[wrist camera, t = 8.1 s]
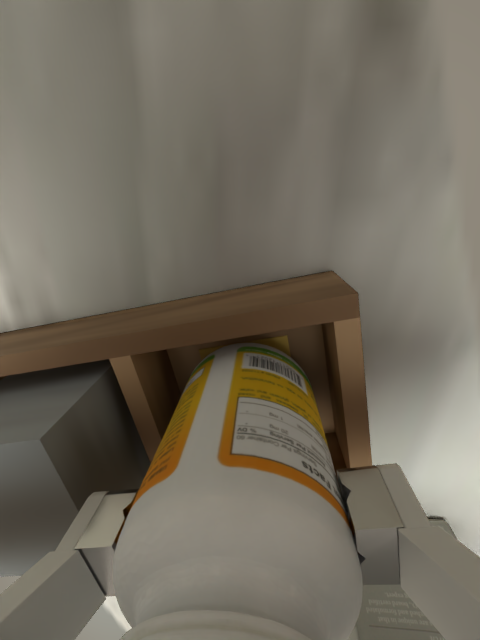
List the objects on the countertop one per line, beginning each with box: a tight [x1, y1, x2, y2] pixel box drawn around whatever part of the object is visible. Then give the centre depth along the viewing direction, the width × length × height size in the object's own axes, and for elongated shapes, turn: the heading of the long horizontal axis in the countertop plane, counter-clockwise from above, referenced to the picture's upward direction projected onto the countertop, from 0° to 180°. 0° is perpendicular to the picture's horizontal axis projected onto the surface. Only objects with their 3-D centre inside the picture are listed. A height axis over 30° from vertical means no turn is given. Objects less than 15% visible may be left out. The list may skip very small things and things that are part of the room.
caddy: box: [0, 271, 372, 577], centre depth 12 cm, size 9×16×7 cm, turn 102°
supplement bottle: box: [113, 343, 363, 640], centre depth 8 cm, size 5×5×10 cm
